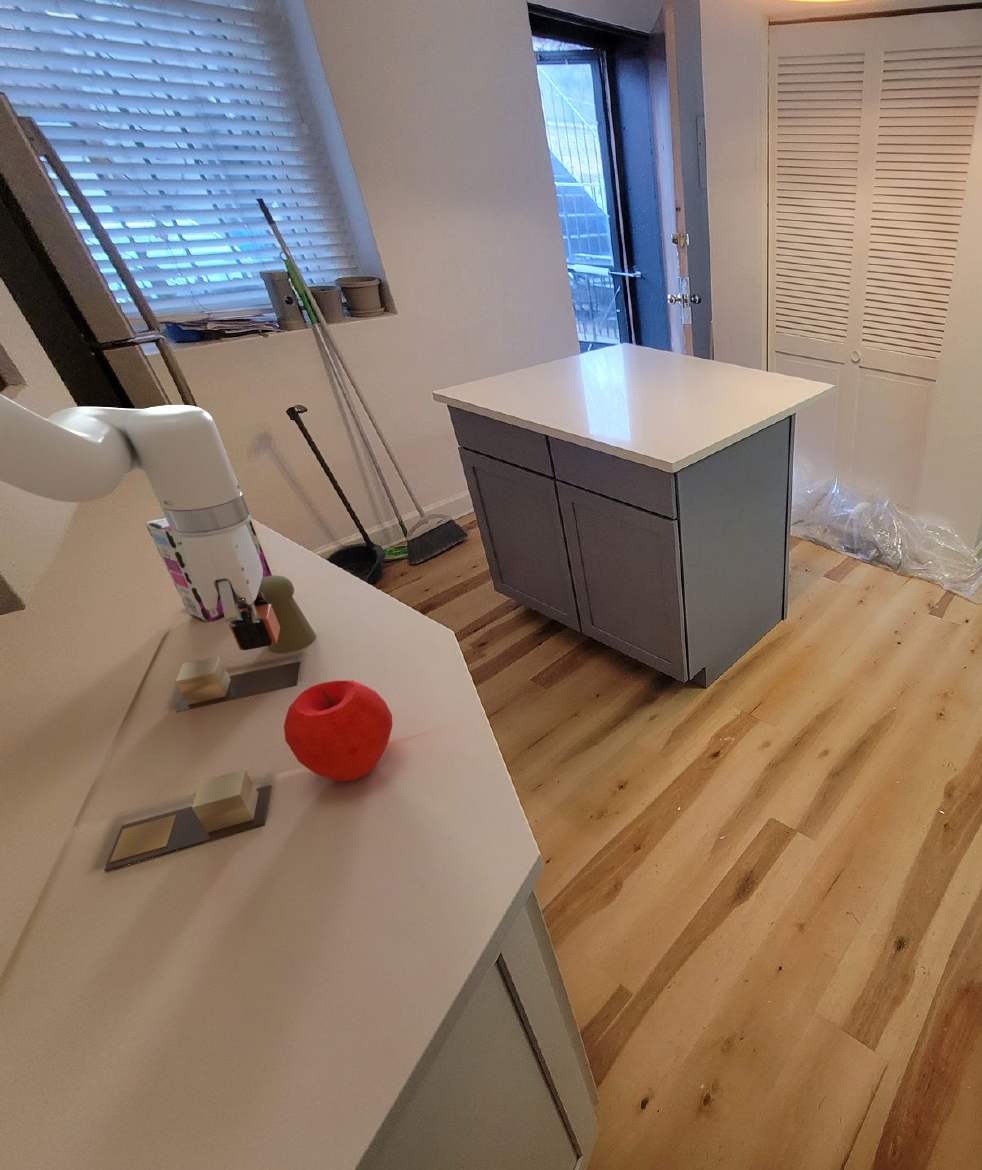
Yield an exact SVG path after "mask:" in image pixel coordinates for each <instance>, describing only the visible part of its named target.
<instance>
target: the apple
mask: <svg viewBox="0 0 982 1170" xmlns="http://www.w3.org/2000/svg"><path fill="white" fill-rule="evenodd" d="M392 729H393V714H392V712H391V710H390V708H389V707H388V704H387V703H386V701H385V700H384V699H383V698H382V696H381V695H380V694H379V693H378V692H377V691H376V690H374V689H372V688H371V687H369V686H367V685H364V684H362V683H360V682H358V681H356V680H353V679H351V680H350V679H347V680H332V681H325V682H320V683H317V684H315V685H312V686H310V687H308V688H307V689H305V690H303V691H302V692H301V693H300V694H298V696H296V698H295V699H294V700H293V702H291V704H290V706H289V707H288V709H287V713H286V716H285V720H284V724H283V732H284V740H285V743H286V744H287V745H288V747H289V749H290V750H291V752H292V754H293V755H294V757H295V758H296V760H297V761H298V762H299V764H301V765H302V766H304V767H305V768H307V769H308V770H309V771H310V772H312V773H314V774H315V775H317V776H320V777H322V778H325V779H328V780H332V781H338V782H351V781H355V780H360V779H361V778H363V777H365V776H367V775H368V774H369V773H370V772H371V771H372V770H373V769H374V768H375V767H376V766H377V765H378V764H379V762H380V761H381V758H382V756H383V754H384V752H385V750H386V748H387V746H388V744H389V741H390V737H391V734H392Z"/></svg>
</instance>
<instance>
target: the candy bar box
mask: <svg viewBox="0 0 982 1170" xmlns="http://www.w3.org/2000/svg"><path fill="white" fill-rule="evenodd" d="M251 519H252V518H251ZM251 519H250V521H249V522H248V523H246V527H247V529H248V531H249V533H250V536H251V538H252V540H253V543H254V545H255V547H256V550H257V552H258V555H259V558H260V561H261V564H262V568H263V577H267V576H273V574H272V571H271V569H270V566H269V564H268V561H267V559H266V555H265V552H264V551H263V549H262V546H261V542H260V540H259V538H258V535H257V533H256V530H255V527H254V525H253V522H252V520H251ZM144 524H145V525H146V528H147V531H148V533H149V534H150V536H151V538H152V540H153V542H154V545H155V546H156V549H157V551H158V553H159V555H160V557H161V559H162V562H163V563H164V565H165V567H166V569H167V572H168V573H169V576H170V578H171V580H172V582H173V585H174V586H175V588H176V590H177V592H178V595H179V597H180V599H181V600H182V603H183V605H184V607H185V609H186V611H187V613H188V615H189V616H190V617H193V618H194V619H195V618H196V619H198V620H200V621H202V622H206V623H211V622H213V621H216V620H217V619H220V618H221V617H225V616H224V612H223V607H222V603H221V599H220V601H219V604H218V607H217V609H214V610H213V611H209V610H207V609H206V608H205V607H204V605H203V602H202V600H201V597H200V595H199V592H198V590H197V587H196V584H195V582H194V579H193V577H192V574H191V571H190V568H189V565H188V563H187V559H186V556H185V553H184V549H183V545H182V541H181V536H179V535H176V534H174V533H173V532H172V530H171V528H170V526H169V524H168V522H167V520H166V517H165V516H163V517H160V518H156V519H153V520H150V521H147V522H145V523H144ZM263 577H262V578H263ZM237 601H238V600H237Z"/></svg>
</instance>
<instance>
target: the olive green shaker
mask: <svg viewBox="0 0 982 1170" xmlns="http://www.w3.org/2000/svg"><path fill="white" fill-rule="evenodd" d="M260 585H261V587H262V589H263V591H264V593H265V597H266V599H265V600H261V601H266V600H267V601H268V603H269V604H271V605H272V608H273V610H274V613H275V616H276V618H277V621H278V623H279V626H280V631H279V635H278V640H277V643H275V644H271V645H270V646H267V647H268V650H269V651H270V652H272V653H274V654H288V653H294V652H297V651H300V650H303V649H305V648H307V647H309V646H310V645H311V644H313V642H314V641H315V640H316V638H317V634H316V633H315V631H314V629H313V627H312V626H311V623H309V621H308V619H307V618H306V615H304V613H303V612H302V610H301V608H300V606H299V605H298V603H297V601H296V600H295V598H294V593H295V587H294V584H293V582H292V581H291V580H290V579H289V578H287V577H285V576H284V575H278V574H277V575H273V574H272V576H267V577H263V578H262V581H261V584H260Z"/></svg>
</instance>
